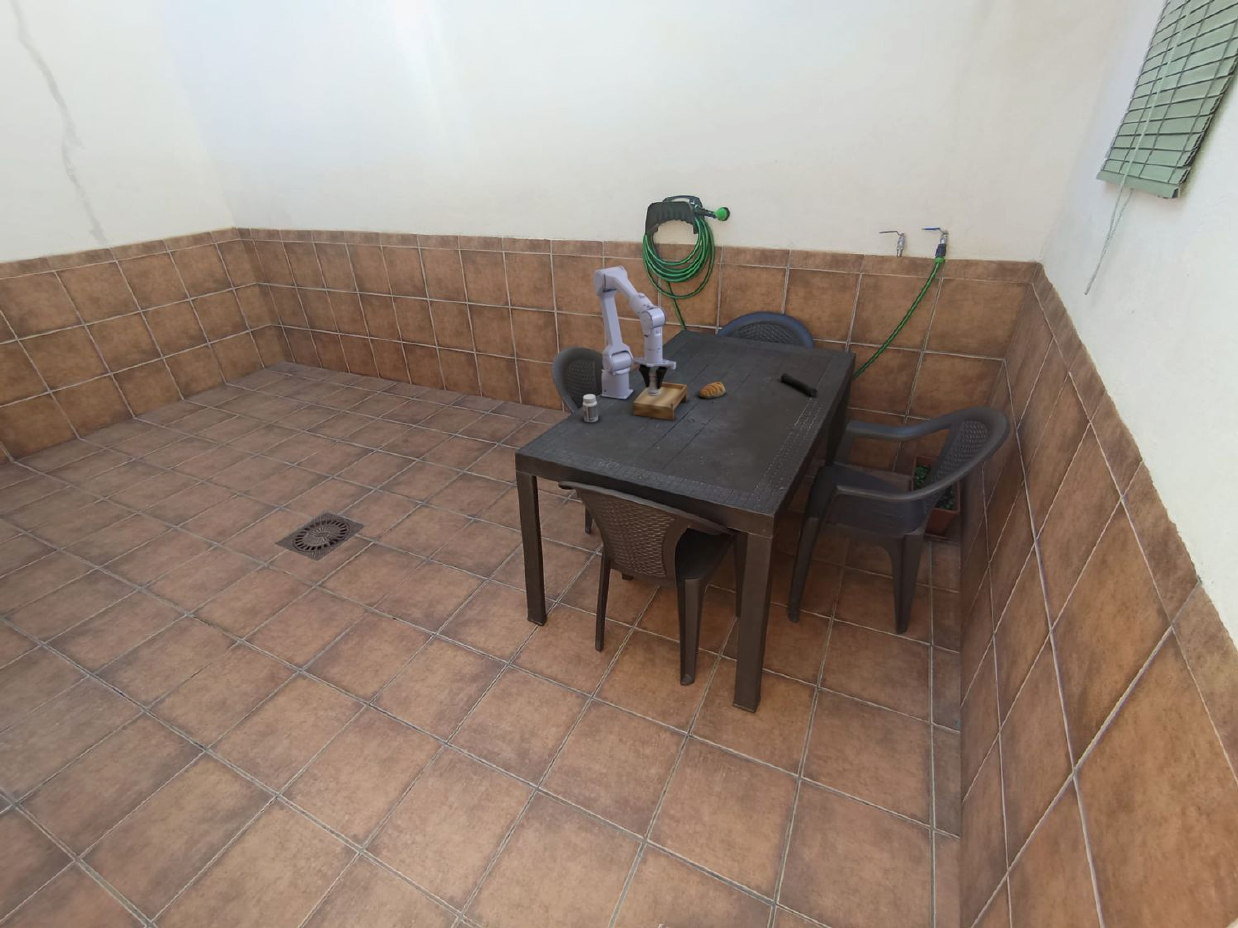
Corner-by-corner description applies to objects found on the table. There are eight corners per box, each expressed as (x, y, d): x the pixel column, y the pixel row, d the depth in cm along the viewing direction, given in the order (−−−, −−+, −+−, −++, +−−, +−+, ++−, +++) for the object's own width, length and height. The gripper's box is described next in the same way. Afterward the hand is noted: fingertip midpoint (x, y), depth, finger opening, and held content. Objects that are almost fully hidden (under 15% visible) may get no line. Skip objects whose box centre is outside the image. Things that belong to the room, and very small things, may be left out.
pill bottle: (600, 417, 188) (598, 394, 184) (595, 423, 184) (593, 400, 180) (587, 415, 189) (585, 392, 185) (581, 421, 186) (579, 398, 181)
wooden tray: (633, 414, 189) (632, 398, 186) (649, 395, 201) (649, 380, 198) (672, 420, 184) (673, 403, 181) (687, 400, 196) (687, 385, 193)
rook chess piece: (662, 392, 185) (662, 369, 181) (657, 397, 182) (657, 374, 178) (650, 390, 187) (649, 367, 183) (644, 395, 184) (644, 372, 179)
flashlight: (787, 379, 209) (788, 372, 207) (817, 395, 196) (818, 387, 194) (780, 381, 208) (781, 373, 206) (810, 397, 195) (811, 389, 193)
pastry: (708, 401, 195) (708, 391, 193) (694, 395, 200) (694, 385, 198) (726, 393, 200) (727, 383, 198) (712, 388, 205) (713, 378, 203)
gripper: (627, 349, 176) (628, 389, 183) (671, 353, 171) (670, 394, 178) (635, 342, 181) (636, 381, 188) (678, 346, 176) (677, 386, 183)
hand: (653, 387), depth 183 cm, fingers closed on rook chess piece, 3 cm apart
